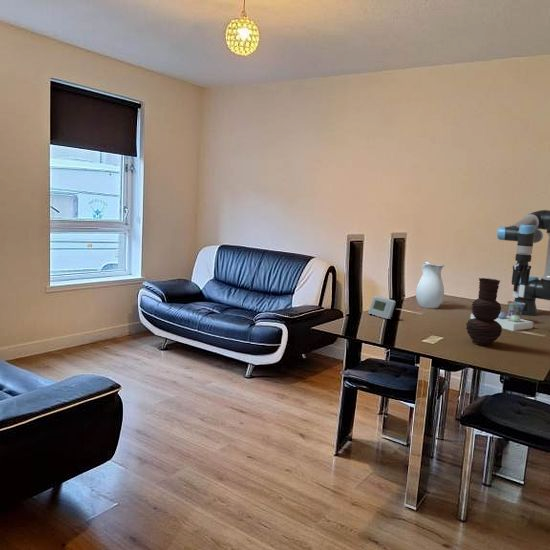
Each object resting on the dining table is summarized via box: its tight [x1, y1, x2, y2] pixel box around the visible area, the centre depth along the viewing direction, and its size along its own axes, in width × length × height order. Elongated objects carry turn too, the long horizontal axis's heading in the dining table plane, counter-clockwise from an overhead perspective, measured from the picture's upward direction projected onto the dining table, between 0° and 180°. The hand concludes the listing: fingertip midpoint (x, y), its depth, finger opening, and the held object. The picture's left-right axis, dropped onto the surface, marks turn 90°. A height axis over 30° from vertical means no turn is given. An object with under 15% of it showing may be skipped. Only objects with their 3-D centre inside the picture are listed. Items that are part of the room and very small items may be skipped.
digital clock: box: [367, 295, 397, 320], centre depth 271 cm, size 16×9×11 cm, turn 23°
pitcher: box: [415, 261, 445, 309], centre depth 313 cm, size 24×17×28 cm
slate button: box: [498, 311, 508, 319], centre depth 272 cm, size 5×5×4 cm
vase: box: [465, 277, 503, 346], centre depth 225 cm, size 15×15×30 cm
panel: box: [469, 313, 534, 332], centre depth 272 cm, size 18×26×4 cm
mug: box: [507, 300, 525, 319], centre depth 284 cm, size 12×9×11 cm
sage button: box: [510, 315, 522, 323], centre depth 265 cm, size 5×5×4 cm
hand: (518, 297), depth 264 cm, fingers open, 4 cm apart
